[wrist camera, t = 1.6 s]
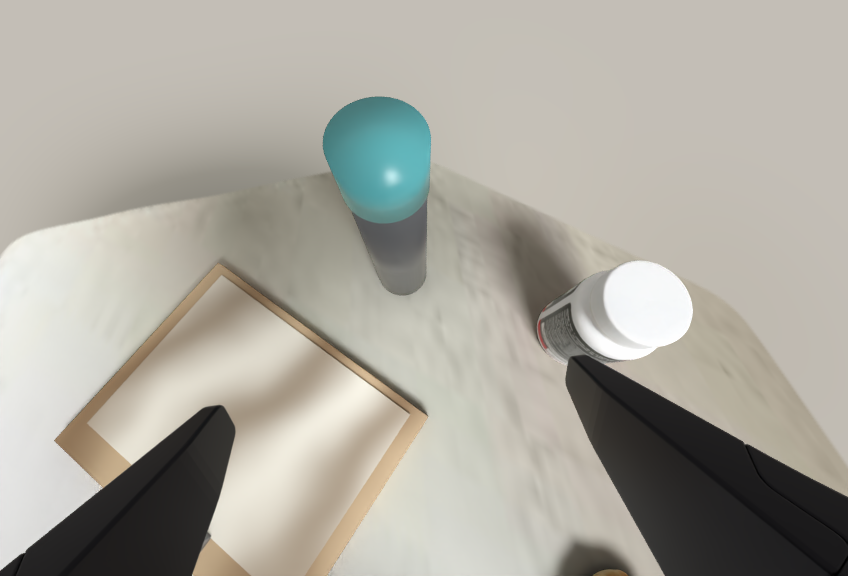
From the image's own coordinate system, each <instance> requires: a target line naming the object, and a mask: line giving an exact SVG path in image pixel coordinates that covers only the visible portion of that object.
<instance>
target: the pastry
mask: <svg viewBox="0 0 848 576" xmlns="http://www.w3.org/2000/svg"><path fill="white" fill-rule="evenodd" d="M592 576H628V575H627V574H626V573H625V572H623V571H621V570H611V569H608V570H602V571H599V572H597V573H595V574H594V575H592Z"/></svg>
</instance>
